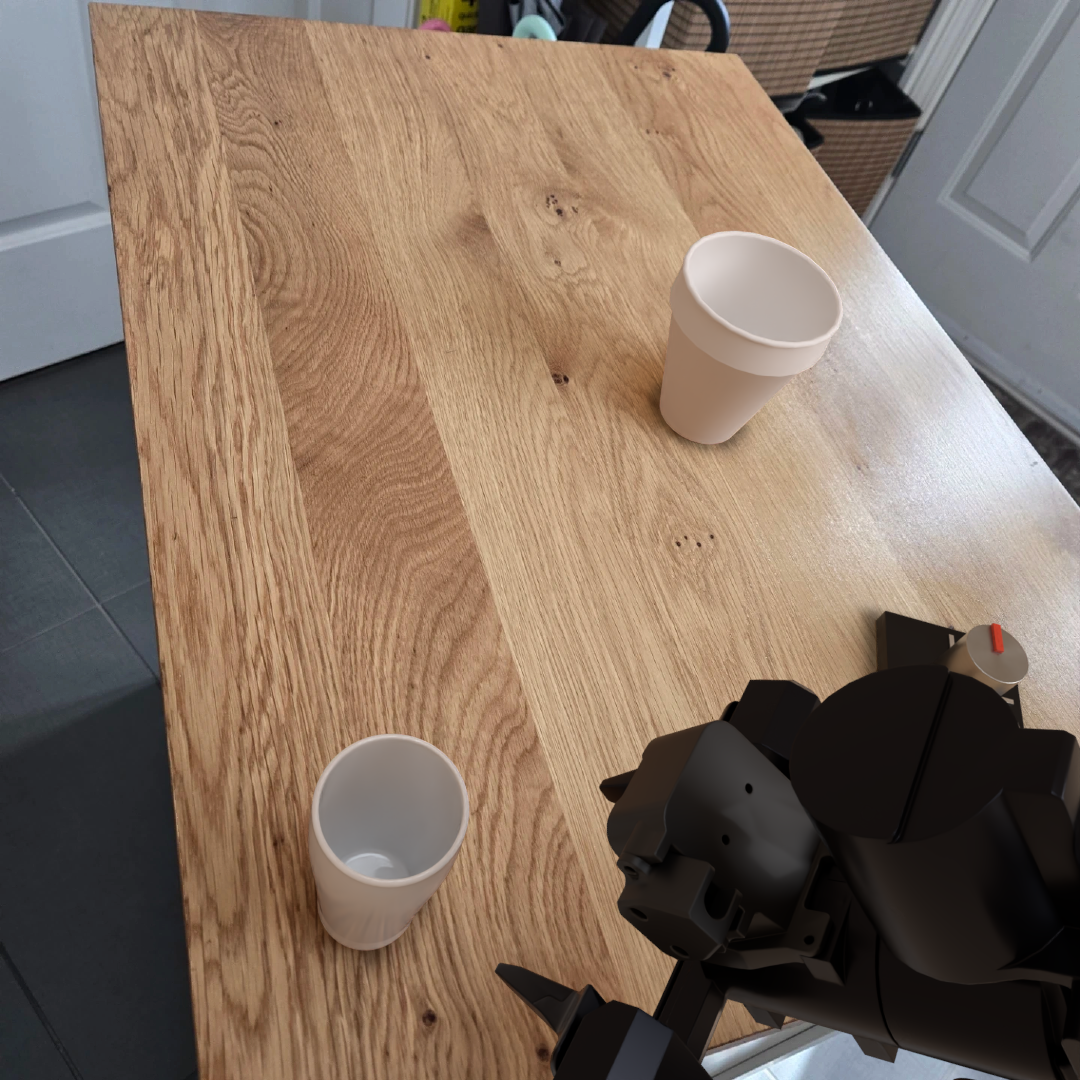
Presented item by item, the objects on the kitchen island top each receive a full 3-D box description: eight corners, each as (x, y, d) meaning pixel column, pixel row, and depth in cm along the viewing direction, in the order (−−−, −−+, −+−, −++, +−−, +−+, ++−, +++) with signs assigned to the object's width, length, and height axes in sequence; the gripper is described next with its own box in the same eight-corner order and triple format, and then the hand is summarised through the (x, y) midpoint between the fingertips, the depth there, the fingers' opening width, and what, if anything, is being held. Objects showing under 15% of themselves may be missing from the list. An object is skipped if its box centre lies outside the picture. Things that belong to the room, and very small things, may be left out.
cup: (666, 338, 84) (723, 207, 74) (789, 408, 83) (866, 284, 72) (601, 417, 77) (654, 284, 66) (734, 496, 75) (811, 373, 65)
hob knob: (988, 723, 66) (1036, 688, 62) (928, 706, 66) (972, 671, 62) (981, 668, 69) (1027, 631, 65) (924, 652, 69) (966, 614, 64)
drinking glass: (283, 946, 50) (283, 859, 38) (329, 823, 54) (343, 710, 42) (407, 984, 50) (445, 909, 39) (444, 859, 55) (490, 757, 43)
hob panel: (1017, 779, 66) (1032, 770, 65) (880, 742, 65) (892, 732, 64) (1000, 655, 72) (1014, 644, 71) (875, 620, 71) (886, 608, 70)
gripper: (908, 569, 33) (568, 590, 44) (691, 1116, 22) (307, 964, 33) (1003, 783, 37) (675, 755, 48) (864, 1322, 26) (479, 1130, 37)
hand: (556, 875), depth 41 cm, fingers open, 9 cm apart
